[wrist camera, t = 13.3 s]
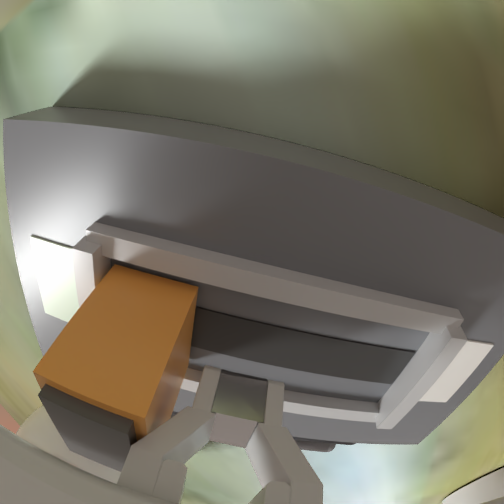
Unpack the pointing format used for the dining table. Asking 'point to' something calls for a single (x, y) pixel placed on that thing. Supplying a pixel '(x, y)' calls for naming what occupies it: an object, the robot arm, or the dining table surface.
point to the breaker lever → (118, 364)
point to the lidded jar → (59, 445)
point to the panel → (266, 262)
